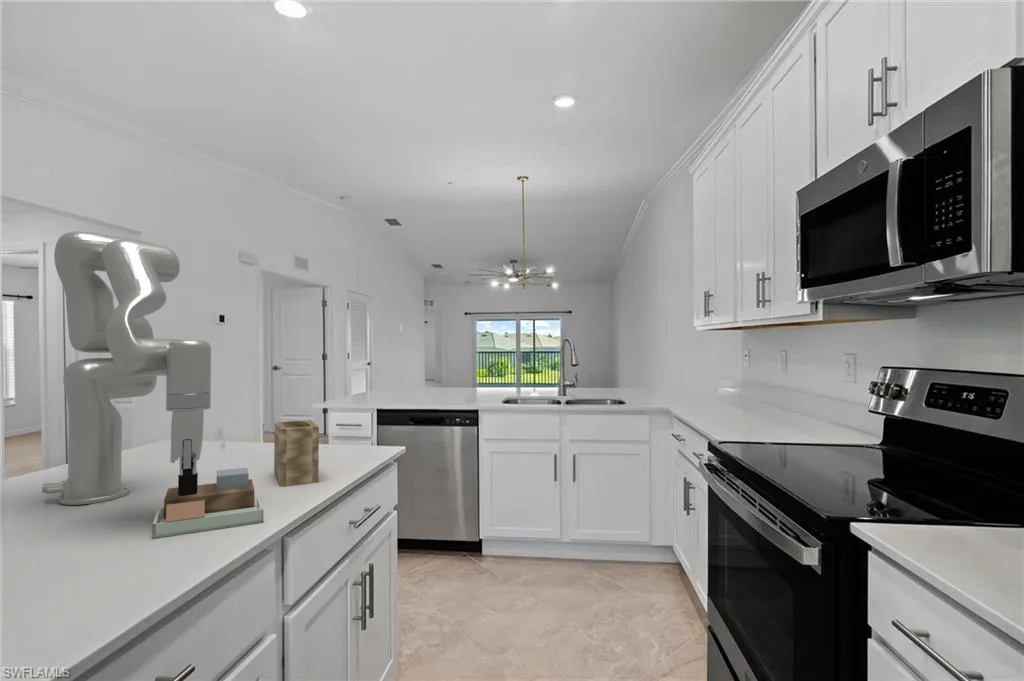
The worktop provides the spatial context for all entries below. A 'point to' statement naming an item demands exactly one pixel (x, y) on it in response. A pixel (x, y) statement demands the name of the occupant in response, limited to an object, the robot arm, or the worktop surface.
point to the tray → (207, 521)
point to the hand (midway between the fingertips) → (187, 494)
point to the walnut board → (214, 498)
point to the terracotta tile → (185, 510)
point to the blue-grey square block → (232, 479)
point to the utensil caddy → (296, 452)
